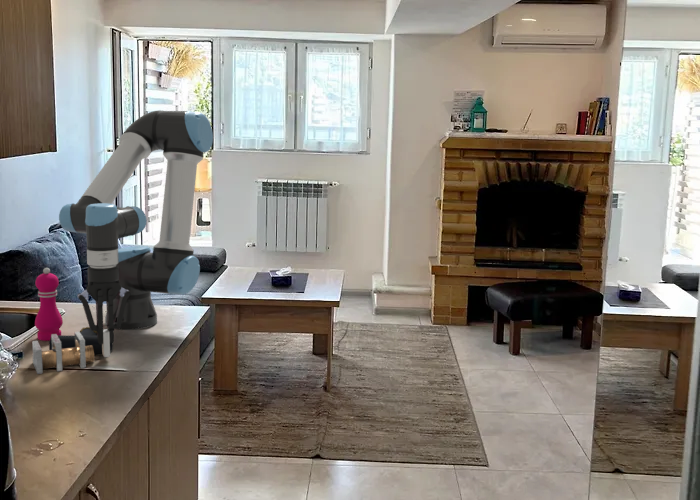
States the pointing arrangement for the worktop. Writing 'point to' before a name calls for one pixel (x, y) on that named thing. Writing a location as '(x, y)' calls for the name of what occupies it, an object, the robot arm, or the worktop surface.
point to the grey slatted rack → (58, 352)
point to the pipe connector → (89, 340)
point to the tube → (66, 357)
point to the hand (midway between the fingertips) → (106, 355)
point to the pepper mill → (47, 306)
